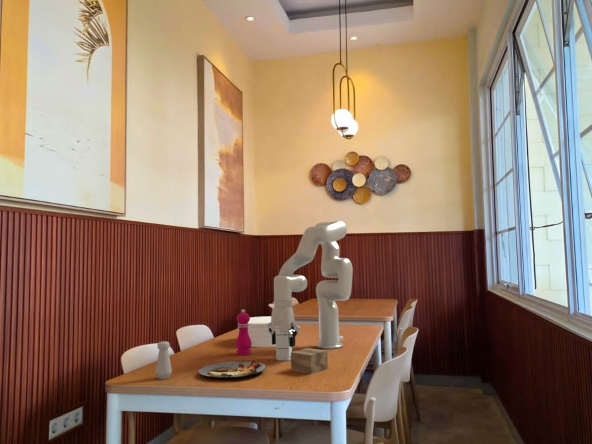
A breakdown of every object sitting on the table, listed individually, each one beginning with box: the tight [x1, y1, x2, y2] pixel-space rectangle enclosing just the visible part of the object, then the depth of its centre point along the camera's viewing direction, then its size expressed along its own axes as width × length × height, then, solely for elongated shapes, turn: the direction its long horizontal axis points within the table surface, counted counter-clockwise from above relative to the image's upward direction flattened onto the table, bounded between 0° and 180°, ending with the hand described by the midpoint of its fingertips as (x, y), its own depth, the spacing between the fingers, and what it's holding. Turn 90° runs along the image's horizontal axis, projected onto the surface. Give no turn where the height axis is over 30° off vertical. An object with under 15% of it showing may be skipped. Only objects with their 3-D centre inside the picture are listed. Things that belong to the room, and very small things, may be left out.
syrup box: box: [275, 326, 293, 362], centre depth 197 cm, size 6×6×14 cm
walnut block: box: [290, 347, 329, 375], centre depth 178 cm, size 10×10×7 cm
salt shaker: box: [155, 341, 173, 380], centre depth 171 cm, size 6×6×13 cm
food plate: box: [198, 360, 268, 379], centre depth 175 cm, size 25×23×4 cm
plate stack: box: [237, 315, 276, 348], centre depth 240 cm, size 28×28×12 cm
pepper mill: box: [235, 309, 252, 356], centre depth 211 cm, size 7×7×20 cm
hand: (283, 345), depth 197 cm, fingers open, 9 cm apart
